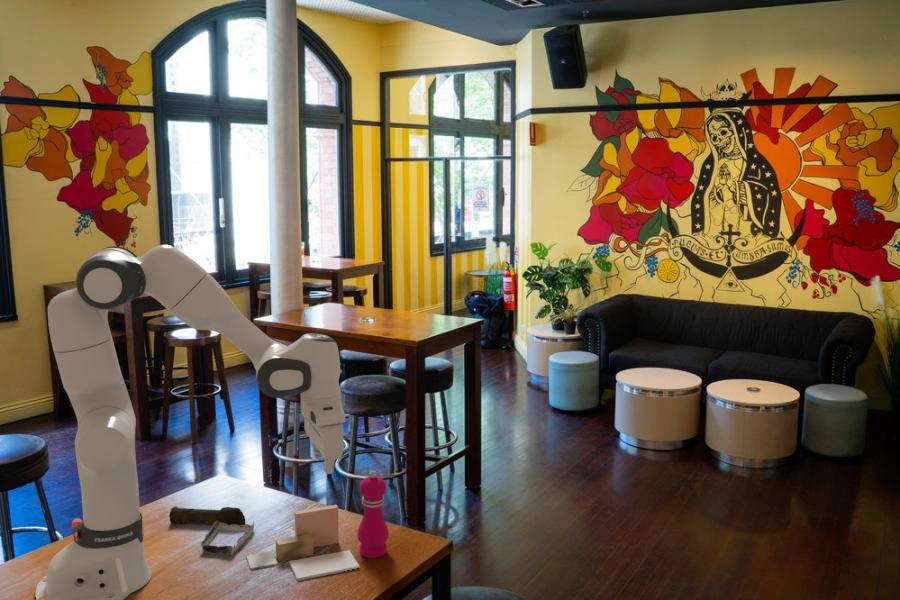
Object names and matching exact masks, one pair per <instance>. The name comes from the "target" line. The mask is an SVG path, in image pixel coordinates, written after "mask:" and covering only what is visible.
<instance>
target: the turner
mask: <svg viewBox="0 0 900 600" xmlns="http://www.w3.org/2000/svg"><path fill="white" fill-rule="evenodd" d="M311 556H314V547H313V538H312V536H311V534H304V535H299V536H295V535H294V536H288V537H282V538H278V539H277V538H276V539H275V553H274V551H267V552H261V553H256V554H251V555H246V560H247V563H248V566H249V569H250V571H252V570H257V569H265V568H268V567H274V566H278V565H279V563H278V562H281V561H286V560H287V561H289V560H292V559H297V558H299V559H300V558H303V557H311Z"/></svg>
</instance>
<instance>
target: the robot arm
mask: <svg viewBox="0 0 900 600" xmlns="http://www.w3.org/2000/svg"><path fill="white" fill-rule="evenodd" d="M75 286H76V287H75V288H73V289H68V290H65V291H62V292H60V293H58V294H57V295H55V296H54V297H53V298H51V299H50V300H49V303H48V305H47V320H48V330H49V336H50V341H51V345H52V350H53V354H54V357H55V361H56V364H57V368H58V371H59V376H60V379H61V383H62V385H63V389H64V390H65V392H66V394H67V396H68V398H69V401H70V403H71V405H72V408H73V411H74V413H75V417H76V420H77V431H76V434H75V437H74V450H75V458H76V459H75V460H76V465H77V472H78V473H77V474H78V478H79V485H80V491H81V503H82V519H83V520H82V519H81V518H78V517H77V518H74V519H73V520H72V521H71V529H72V530H73V533H72V534H73V535H72V536H73V540H72V541H71V542H70V543H68V544H67V545H66V546H65V547H64V548H63V549H61V550H60V551H59V552H57V553H56V554H55V555H54V556H53V557H52V558H51V560H50V563H49V565H48V567H47V571H46V572H47V573H46V575H45V576H43V577H42V578H41V579H40V580H39V582H38V583H37V585H36V588H35V592H34V593H35V594H34V595H35V597H36V598H37V600H38V599H39V598H44V599H45V600H125V599H126V597H128V596H129V595H130V594H131V593H134V592H136V591H138V590H139V589H141V588H143V587H144V586H146V584H148V582H149V581H150V580H151V578H152V571H151V568H150V566H149V564H148V560H147V556H146V551H145V548H144V542H143V541H144V537H145V529H144V527H145V526H144V519H143V515H142V512H141V511H140V493H139V492H140V491H139V478H138V477H139V476H138V469H137V457H136V426H137V424H136V423H137V419H136V414H135V411H134V408H133V405H132V401H131V398H130V394H129V391H128V388H127V386H126V385H127V384H126V383H125V380H124V377H123V374H122V370H121V367H120V364H119V359H118V355H117V351H116V347H115V344H114V339H113V335H112V332H111V329H110V325H109V319H108V318H109V317H108V315H109V314H108V313H109V310H113V309H117V308H121V307H122V306H125V305H126V304H128V303H130V302H133V300H135V299H136V300H137V299H138V298H140V297H142V295H148V296H150V297H152V298H153V299H155V300H156V301H157V302H158V303H160V304H161V305H162V306H163V307H164V308H165V309H166V310H168V311H169V312H170V313H171V314H172V315H173V316H174V317H176V318H177V319H178V320H180V321H181V322H182V323H184V324H186V325H187V326H189V327H191V328H192V329H194V330H198V331H211V332H215V333H218V334H219V335H222V336H223V337H225V338H226V339H227V340H228V341H229V342H230V343H231V344H233V345H234V346H235V347H236V348H238V349H239V350H240V351H241V352H243V353H244V354H245V355H246V356H247V357H248V358H249V360H250V361H251V362H252V365H253V367H254V369H255V374H256V381H257V385H258V388H259V389H260V391H261V392H262V393H263V394H265V395H266V396H267V397H270V398H273V399H282V398H288V397H292V396H296V395H299V394H300V411H301V416H302V417H303V418H304V420H303V421H304V422H303V423H304V432H305V434H306V436H307V437H308V438H309V439H310V441H311V445H312V451H313V457H314V458H315V460H318V459H324V464H323V471H324V473H325V474H326V475H330V474H333V473H334V472H335V471H334V469H335V468H334V466H335V462H336V460H338V459H341V458H342V456H343V452H344V425H343V424H344V423H346V413H345V411H344V408H343V401H342V390H341V387H340V382H339V381H340V376H341V362H340V353H339V348H338V344H337V342H336V341H335V340H334V339H333V338H332V337H330V336H329V335H326V334H322V333H315V332H314V333H313V332H312V333H311V332H310V333H305V334H304V333H303V334H302V336H300V338H298V339H297V340H295V341H294V342H293V343H290V344H289V343H288V342H286V341H283V340H280V339H276V338H274V337H271V336H270V335H267V334H266V333H265V332H264V331H263V330H261V329H260V327H258V326H257V325H256V324H255V323H254V322H253V321H251V320H250V319H249V318H248V317H247V316H246V315H245V314H244V313H243V312H241V310H240V309H238V307H237V306H236V304H235V303H234V301H232V299H231V298H230V295H228V294H227V292H226V291H225V290H224V288H223V287H222V286H221V285H220V283H219V282H218V281H217V280H216V279H215V278H214V277H213V276H212V275H211V274H210V273H209V272H207V271H206V269H204V268H203V267H202V266H201V265H199V263H197V261H195V260H194V259H192V258H191V257H189V256H188V255H186V254H185V253H184V252H182V251H181V250H179V249H178V248H176V247H174V246H173V245H169V244H160V245H157V246H154V247H152V248H150V249H149V250H148V251H147V252H145V253H144V254H143V255H142V256H139V257H138V256H137V254H135V253H134V252H133V251H131V250H130V249H128V248H126V247H122V246H116V245H115V246H114V245H113V246H107V247H104V248H102V249H100V250H98V251H96V252H94V253H92V254H91V255H90V256H88V258H87V259H86V260H85V261H84V262H83V264H82V265H81V266H80V267H79V269H78V270H77V274H76V277H75ZM43 581H46V582H43ZM35 597H34V598H35Z"/></svg>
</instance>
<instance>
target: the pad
mask: <svg viewBox="0 0 900 600" xmlns="http://www.w3.org/2000/svg"><path fill="white" fill-rule="evenodd" d="M288 561H289V562H288V563H289V567H290V568H291V570H292V572H293V574H294V577H295V579H296V581H297V582H299V581H302V580H303V581H304V580H309V579H314V578H318V577H319V578H320V577H323V576H329V575H333V574H334V575H335V574H339V573H344V571H345V572H348V571H347V570H350V571H353V570H352V569H355V570H357V569H356V568H360V565H359V563H358V562H357V559H356V557H355V556H354V555H353V554H352V552H351V550H349V549H347V550H343V551H338V552H332V553H327V554H326V553H325V554H321V555H317V556H309V557H305V558H299V559H295V560H288Z"/></svg>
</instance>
